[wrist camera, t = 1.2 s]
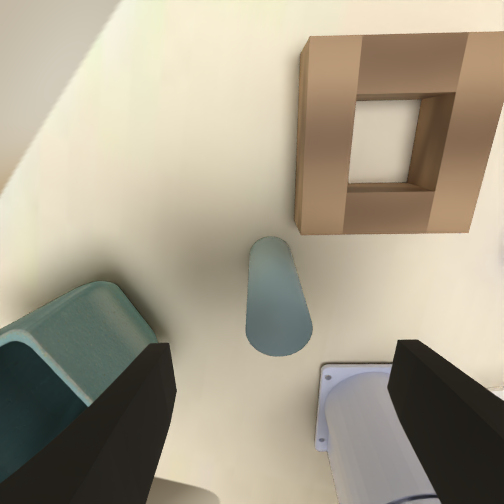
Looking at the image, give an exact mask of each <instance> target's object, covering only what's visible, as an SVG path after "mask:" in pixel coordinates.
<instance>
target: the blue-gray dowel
mask: <svg viewBox="0 0 504 504" xmlns="http://www.w3.org/2000/svg"><path fill="white" fill-rule="evenodd" d="M312 330H313V326H312V321H311V318H310V314H309V311H308V308H307V304H306V301H305V297H304V294H303V291H302V287H301V284H300V281H299V277H298V274H297V270H296V267H295V264H294V260H293V257H292V254H291V250H290V248H289V246H288V245H287V243H286V242H285V241H283V240H282V239H280V238H277V237H265V238H262V239H260V240H258V241H257V242H256V243H255V244H254V245H253V246H252V248H251V251H250V259H249V277H248V295H247V313H246V336H247V338H248V341H249V342H250V344H251V345H252V346H253V347H254V348H255V349H256V350H258V351H259V352H261V353H263V354H266V355H270V356H287V355H291V354H293V353H296V352H297V351H299V350H301V349H302V348H303V347H304V346H305V345H306V344H307V343H308V341H309V340H310V338H311V335H312Z"/></svg>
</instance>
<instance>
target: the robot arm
mask: <svg viewBox="0 0 504 504" xmlns="http://www.w3.org/2000/svg"><path fill="white" fill-rule="evenodd" d="M327 375H329V376H327ZM176 392H177V389H176V383H175V377H174V370H173V364H172V358H171V351H170V345H169V343H150V344H149V345H148V346H147V347H146V348H145V349H144V350H143V351H142V352H141V353H140V354H139V355H138V356H137V357H136V358H135V359H134V360H133V361H132V362H131V364H130V365H129V366H128V367H127V368H126V369H125V370H124V371H123V372H122V373H121V374H120V375H119V376H118V377H117V378H116V379H115V380H114V381H113V383H112V384H111V385H110V386H109V387H108V388H107V389H106V390H105V391H104V392H103V393H102V394H101V395H100V396H99V397H98V398H97V399H96V400H95V401H94V402H93V403H92V404H91V405H90V406H89V407H88V408H87V409H86V410H84V411H83V412H82V413H81V414H80V415H79V416H78V417H77V418H76V419H75V420H74V421H73V422H72V423H71V424H70V425H69V426H68V427H66V428H65V429H64V430H63V431H62V432H61V433H60V434H59V435H58V436H57V437H55V438H54V439H53V440H52V441H51V442H50V443H49V444H48V445H46V446H45V447H44V448H43V449H42V450H41V451H39V452H38V453H37V454H36V455H35V456H33V457H32V458H31V459H30V460H29V461H27V462H26V463H25V464H24V465H23V466H21V467H20V468H19V469H18V470H17V471H15V472H14V473H13V474H12V475H10V476H9V477H8V478H7V479H5V480H4V481H3V482H1V483H0V504H146V500H147V497H148V494H149V491H150V487H151V484H152V481H153V478H154V475H155V472H156V469H157V465H158V462H159V459H160V456H161V453H162V449H163V446H164V443H165V440H166V436H167V433H168V430H169V426H170V422H171V418H172V413H173V408H174V402H175V397H176ZM315 449H316V450H317V451H327V453H328V457H329V462H330V466H331V471H332V475H333V480H334V484H335V489H336V493H337V497H338V502H339V504H504V401H503V400H502V399H501V398H499V397H498V396H496V395H495V394H493V393H492V392H490V391H489V390H488V389H486V388H485V387H483V386H482V385H481V384H479V383H478V382H476V381H475V380H474V379H472V378H471V377H469V376H468V375H467V374H465V373H464V372H462V371H461V370H460V369H458V368H457V367H456V366H454V365H453V364H451V363H450V362H449V361H447V360H446V359H444V358H443V357H442V356H440V355H439V354H438V353H436V352H435V351H433V350H432V349H431V348H429V347H428V346H426V345H425V344H423V343H422V342H420V341H419V340H398V341H397V346H396V350H395V355H394V359H393V363H392V364H327V365H324V366H323V367H322V369H321V377H320V389H319V400H318V411H317V422H316V433H315Z"/></svg>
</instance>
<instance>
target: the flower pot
mask: <svg viewBox="0 0 504 504" xmlns="http://www.w3.org/2000/svg"><path fill="white" fill-rule="evenodd" d="M150 343H158V340H157V338H156V336H155V333H154V331H153V330H152V329H151V327H150V326H149V325H148V324H147V322H146V321H145V320H144V319H143V317H142V316H141V315H140V313H139V312H138V311H137V310H136V308H135V307H134V306H133V305H132V303H131V302H130V301H129V299H128V298H127V297H126V295H125V294H124V293H123V291H122V290H121V289H120V288H119V287H118V286H117V285H116V284H114V283H111V282H107V281H96V282H91V283H88V284H85V285H82V286H80V287H78V288H76V289H74V290H72V291H70V292H68V293H66V294H64V295H62V296H61V297H59V298H57V299H55V300H53V301H52V302H50V303H48V304H46V305H44V306H42V307H41V308H39V309H37V310H35V311H33V312H31V313H29V314H28V315H26V316H24V317H22V318H20V319H18V320H17V321H15V322H13V323H11V324H9V325H7V326H5V327H3V328H1V329H0V483H1V482H3V481H4V480H5V479H7V478H8V477H9V476H10V475H12V474H13V473H14V472H15V471H17V470H18V469H19V468H20V467H21V466H23V465H24V464H25V463H26V462H27V461H29V460H30V459H31V458H32V457H33V456H35V455H36V454H37V453H38V452H39V451H41V450H42V449H43V448H44V447H45V446H46V445H48V444H49V443H50V442H51V441H52V440H53V439H54V438H55V437H57V436H58V435H59V434H60V433H61V432H62V431H63V430H64V429H65V428H66V427H68V426H69V425H70V424H71V423H72V422H73V421H74V420H75V419H76V418H77V417H78V416H79V415H80V414H81V413H82V412H83V411H84V410H86V409H87V408H88V407H89V406H90V405H91V404H92V403H93V402H94V401H95V400H96V399H97V398H98V397H99V396H100V395H101V394H102V393H103V392H104V391H105V390H106V389H107V388H108V387H109V386H110V385H111V384H112V383H113V381H114V380H115V379H116V378H117V377H118V376H119V375H120V374H121V373H122V372H123V371H124V370H125V369H126V368H127V367H128V366H129V365H130V364H131V362H132V361H133V360H134V359H135V358H136V357H137V356H138V355H139V354H140V353H141V352H142V351H143V350H144V349H145V348H146V347H147V346H148V345H149V344H150Z"/></svg>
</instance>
